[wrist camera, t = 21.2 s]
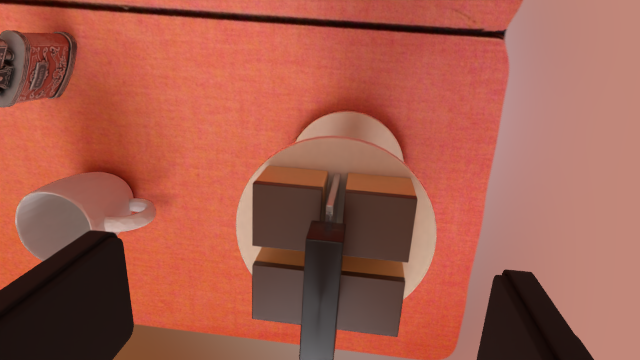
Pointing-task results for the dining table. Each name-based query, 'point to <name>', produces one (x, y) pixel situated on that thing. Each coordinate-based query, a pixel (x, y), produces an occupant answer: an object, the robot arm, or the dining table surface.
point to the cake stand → (342, 158)
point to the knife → (322, 282)
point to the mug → (78, 211)
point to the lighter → (34, 65)
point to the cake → (359, 247)
